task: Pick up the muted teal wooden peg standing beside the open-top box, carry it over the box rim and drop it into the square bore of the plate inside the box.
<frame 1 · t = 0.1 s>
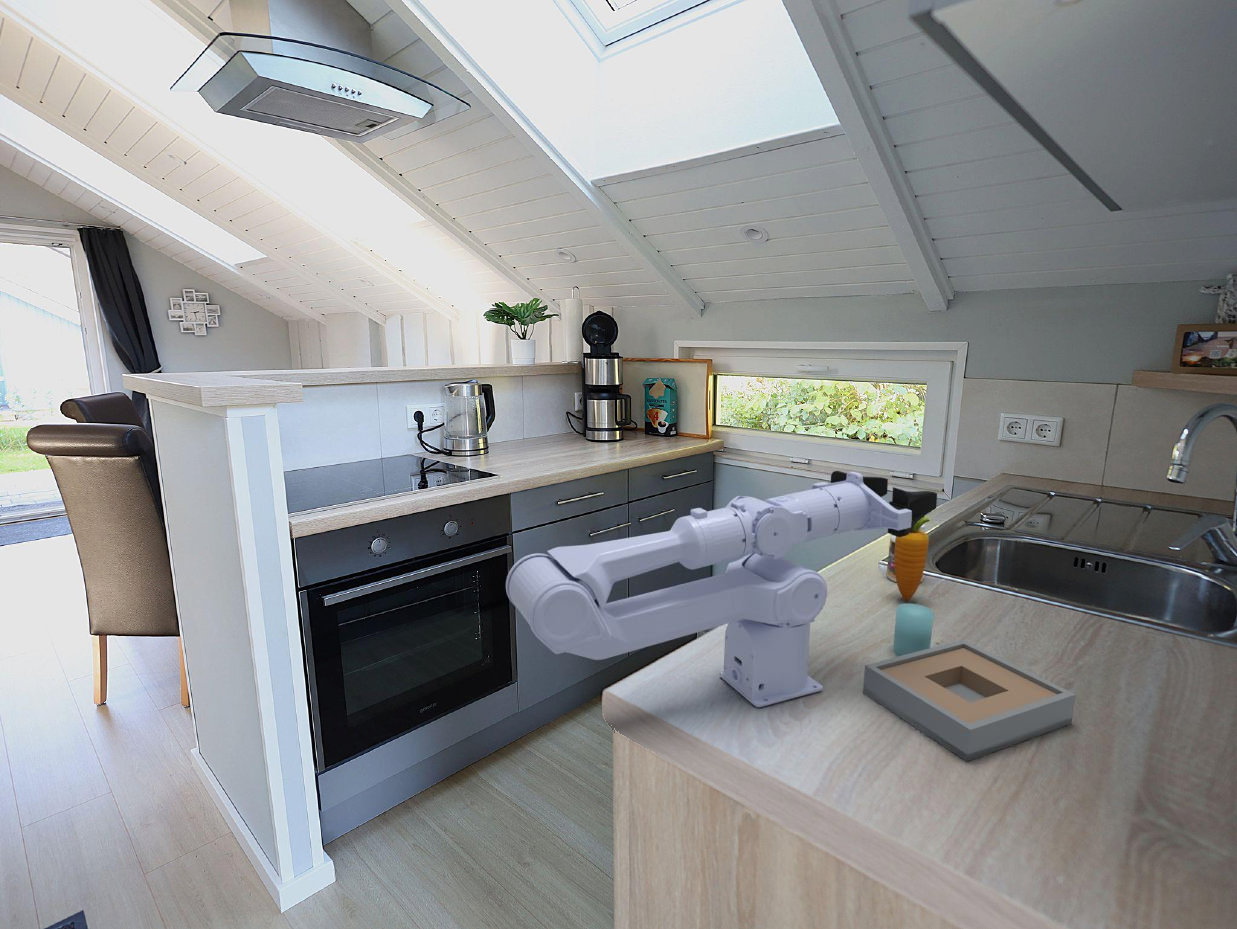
hand: (909, 492, 84), 22 cm above the counter, tool horizontal, fingers open, 7 cm apart
teal peg: (910, 653, 89), on the counter
pill bottle: (904, 580, 114), on the counter
bore box: (962, 707, 76), on the counter
carrot: (906, 601, 105), on the counter
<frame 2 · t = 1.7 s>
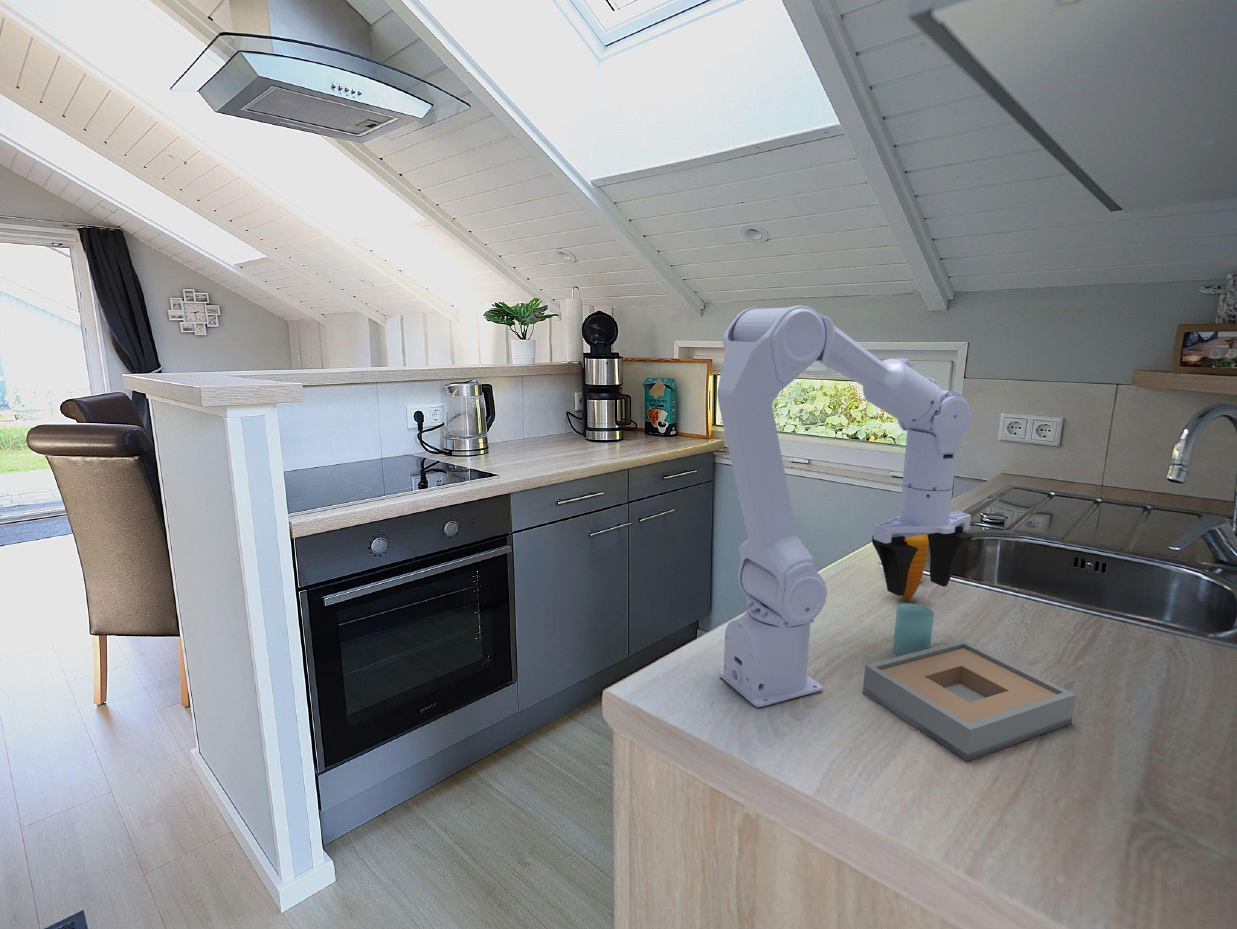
hand: (917, 588, 87), 9 cm above the counter, tool pointing down, fingers open, 7 cm apart
nothing on the counter moved.
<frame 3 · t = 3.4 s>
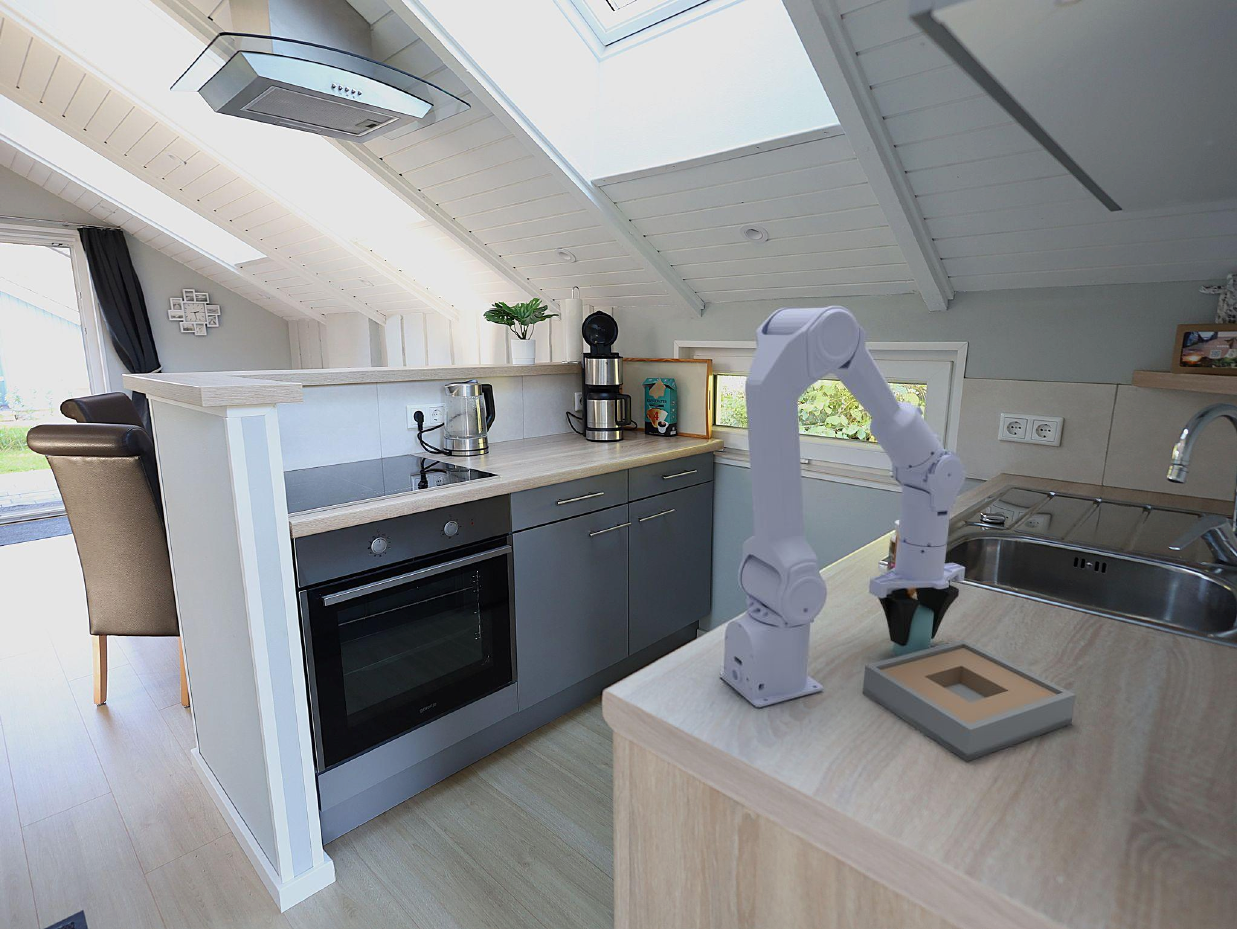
hand: (912, 639, 88), 2 cm above the counter, tool pointing down, fingers closed on teal peg, 4 cm apart
teal peg: (910, 652, 89), on the counter, touching gripper
everything else where it was.
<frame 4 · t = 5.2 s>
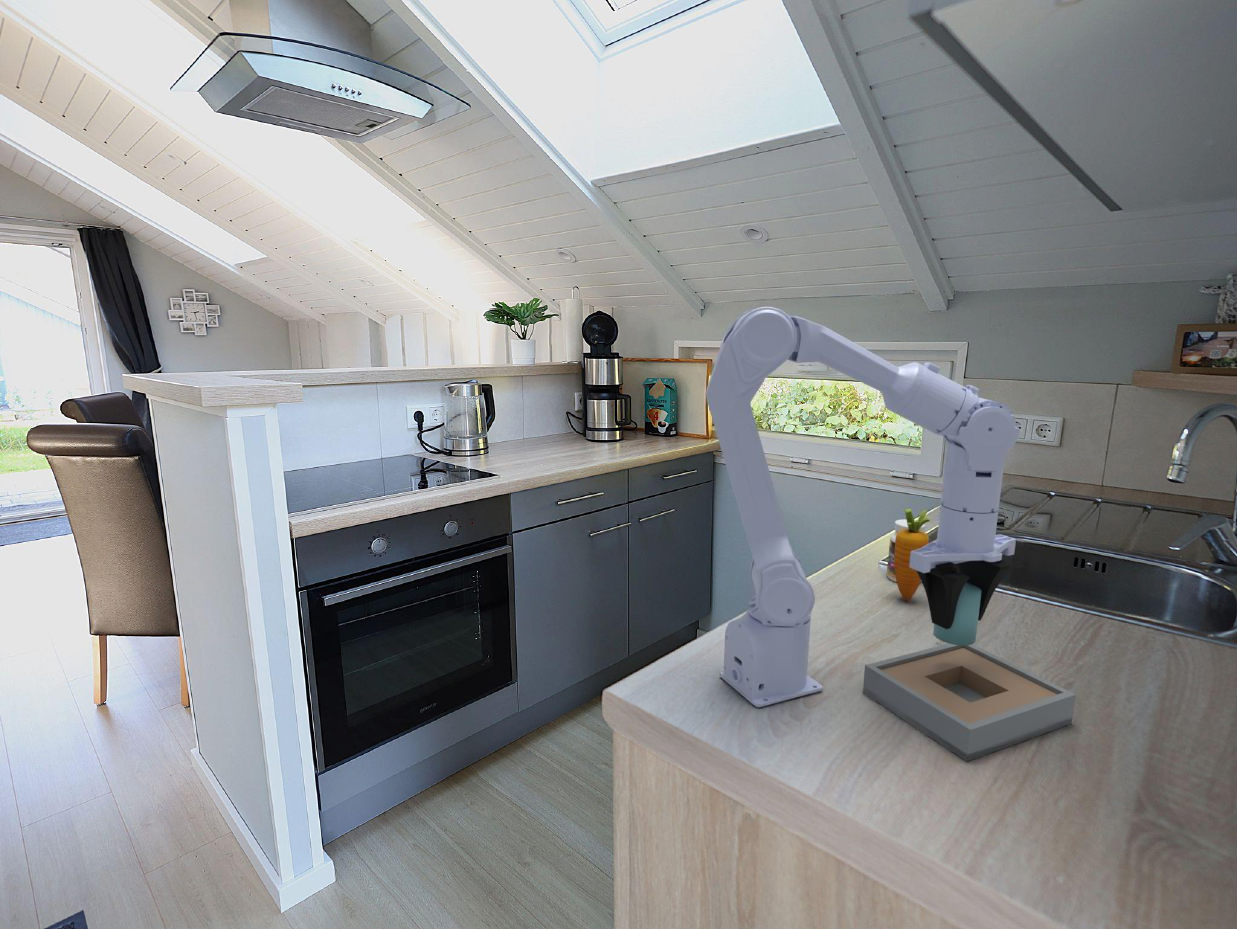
hand: (956, 621, 77), 9 cm above the counter, tool pointing down, fingers closed on teal peg, 4 cm apart
teal peg: (954, 636, 78), point 7 cm above the counter, touching gripper
everything else where it was.
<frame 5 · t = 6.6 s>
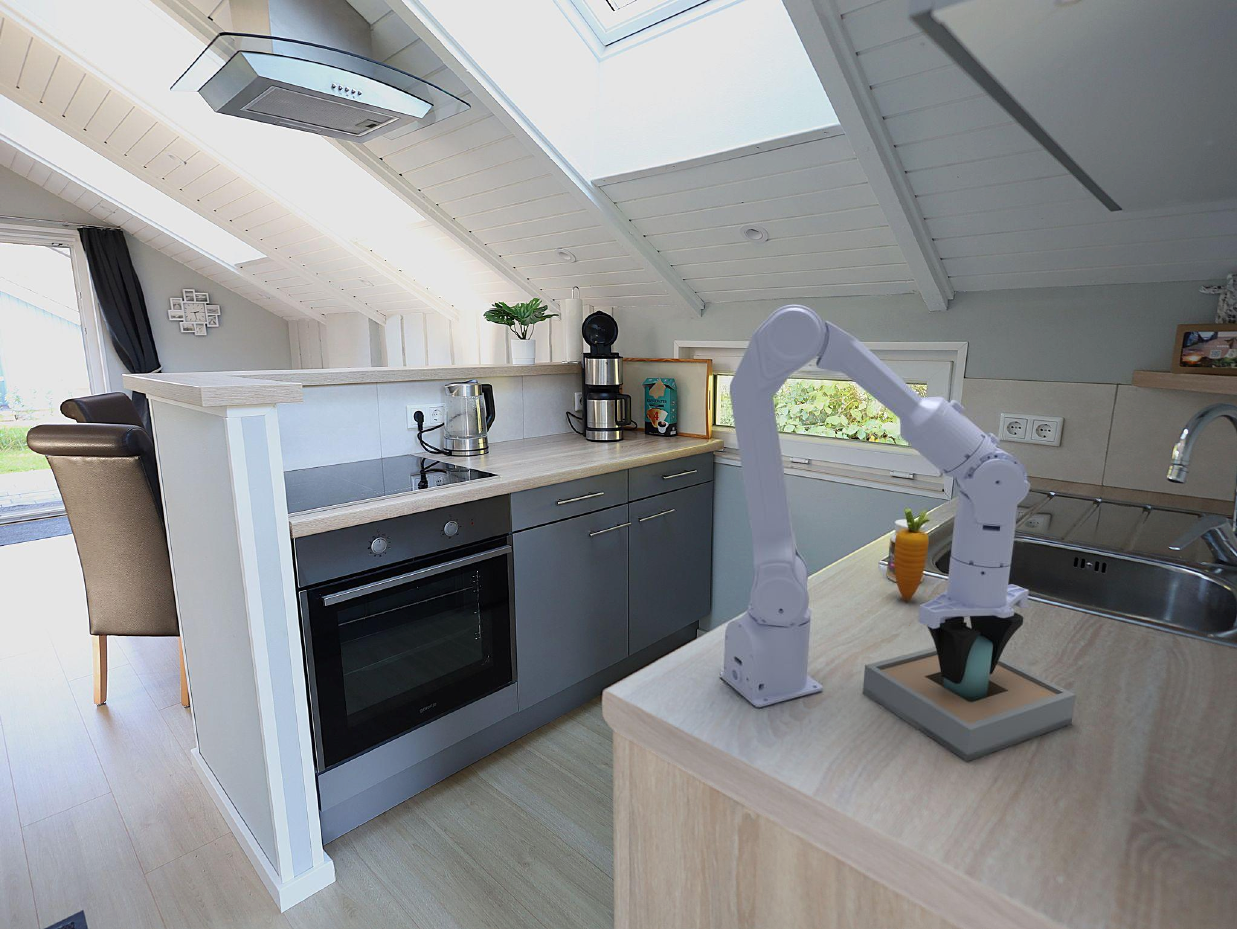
hand: (966, 674, 75), 4 cm above the counter, tool pointing down, fingers closed on teal peg, 4 cm apart
teal peg: (964, 690, 75), point 2 cm above the counter, touching gripper
everything else where it was.
when the fingers open (4 cm above the counter, at t = 7.5 s): teal peg drops 1 cm, resting on bore box.
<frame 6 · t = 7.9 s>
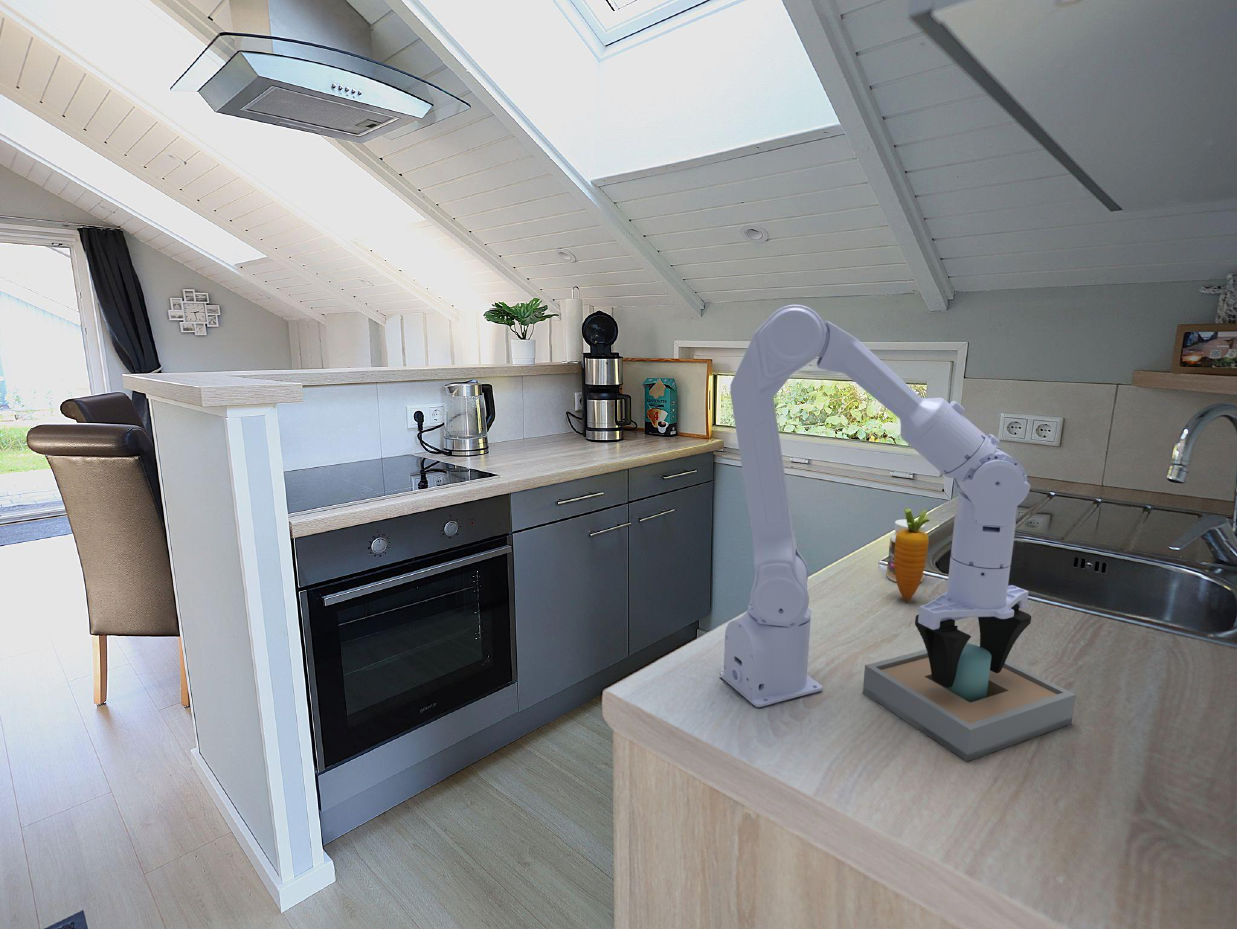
hand: (966, 675, 75), 4 cm above the counter, tool pointing down, fingers open, 7 cm apart
teal peg: (963, 700, 76), point 1 cm above the counter, touching bore box
everything else where it was.
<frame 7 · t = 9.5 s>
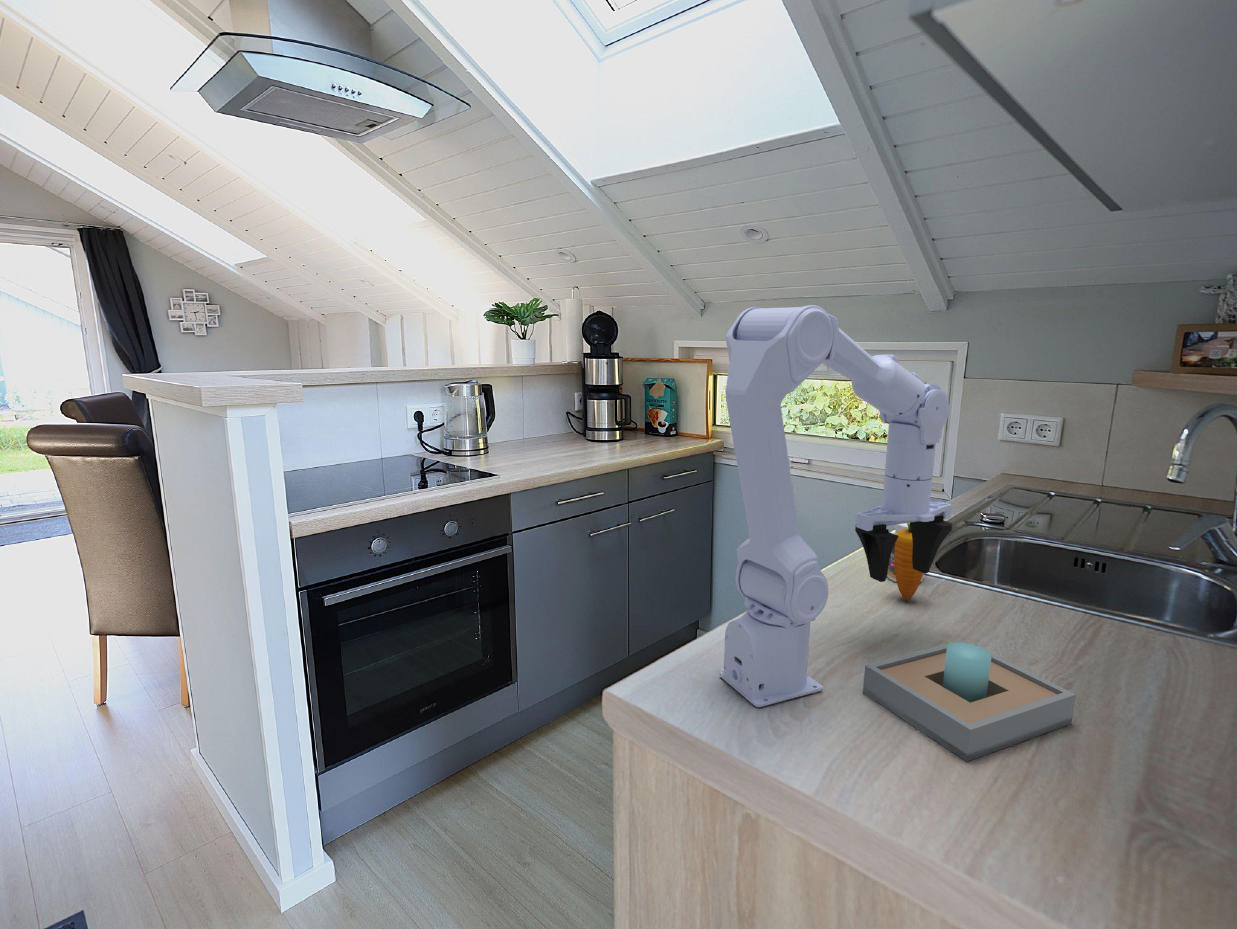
hand: (899, 575, 90), 9 cm above the counter, tool pointing down, fingers open, 7 cm apart
nothing on the counter moved.
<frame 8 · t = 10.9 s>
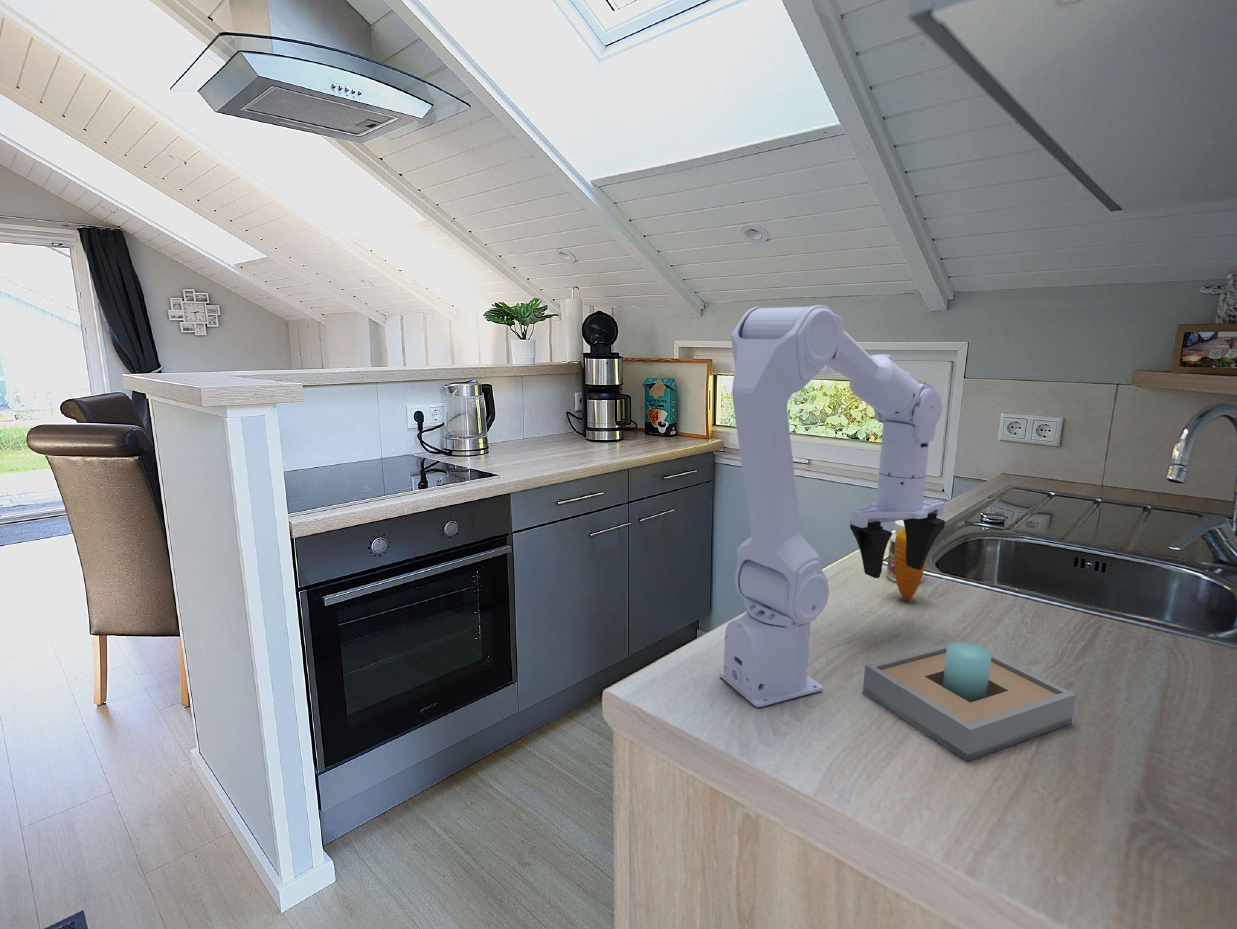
hand: (893, 571, 92), 9 cm above the counter, tool pointing down, fingers open, 7 cm apart
nothing on the counter moved.
at the end: teal peg 0.1 cm from the bore box (horizontally); teal peg point 0.8 cm above the counter; teal peg tilted 0° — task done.
